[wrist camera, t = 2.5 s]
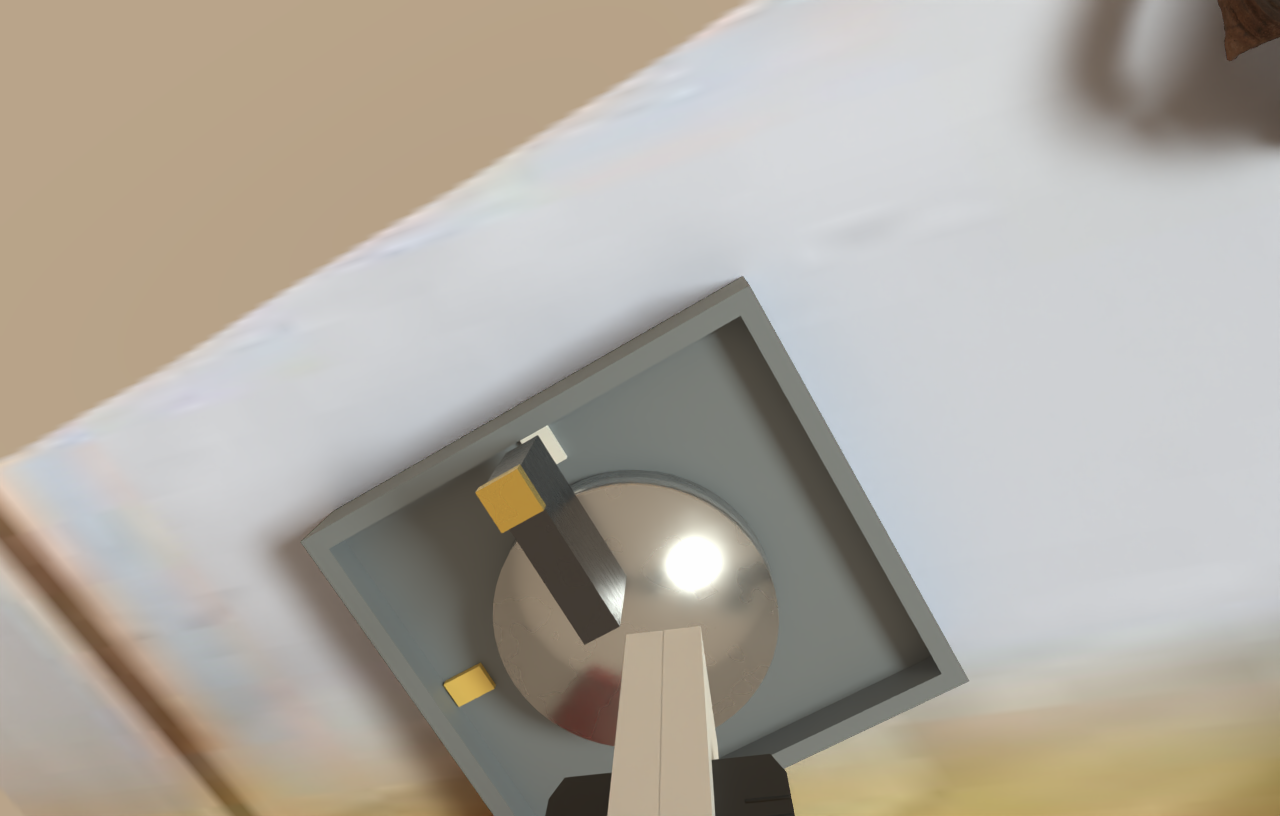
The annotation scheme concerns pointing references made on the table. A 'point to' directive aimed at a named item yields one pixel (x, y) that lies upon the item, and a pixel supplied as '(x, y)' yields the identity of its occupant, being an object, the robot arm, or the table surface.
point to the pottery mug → (1249, 24)
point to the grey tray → (669, 443)
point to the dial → (621, 585)
